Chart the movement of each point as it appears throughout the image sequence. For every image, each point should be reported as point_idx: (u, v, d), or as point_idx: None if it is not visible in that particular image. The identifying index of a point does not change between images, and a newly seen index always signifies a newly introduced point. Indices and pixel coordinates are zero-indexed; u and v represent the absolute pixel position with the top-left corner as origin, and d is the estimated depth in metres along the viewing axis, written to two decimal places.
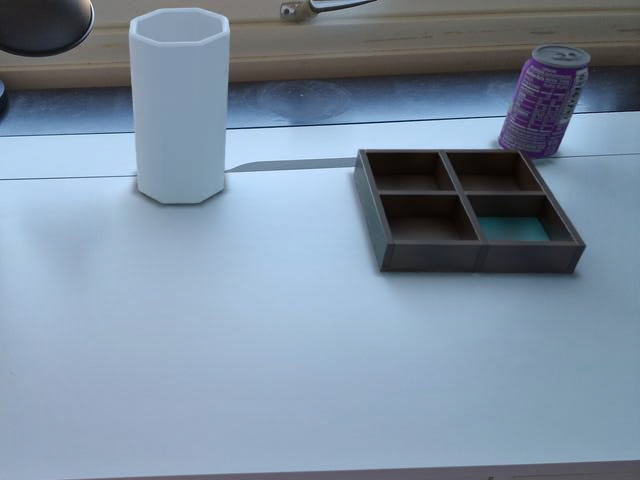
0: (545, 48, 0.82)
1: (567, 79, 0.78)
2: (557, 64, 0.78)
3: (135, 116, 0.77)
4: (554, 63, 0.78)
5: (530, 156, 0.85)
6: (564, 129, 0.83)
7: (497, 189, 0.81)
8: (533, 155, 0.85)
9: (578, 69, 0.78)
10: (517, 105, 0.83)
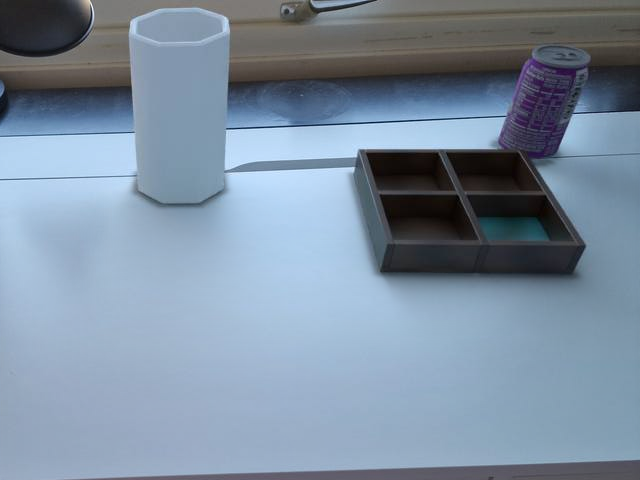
0: (545, 48, 0.82)
1: (567, 79, 0.78)
2: (557, 63, 0.78)
3: (135, 116, 0.77)
4: (554, 63, 0.78)
5: (530, 156, 0.85)
6: (564, 129, 0.83)
7: (497, 189, 0.81)
8: (533, 155, 0.85)
9: (578, 69, 0.78)
10: (517, 105, 0.83)
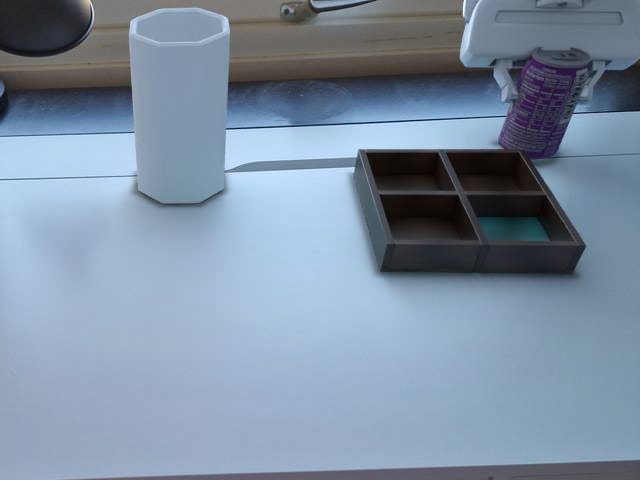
0: None
1: (567, 80, 0.78)
2: (557, 64, 0.78)
3: (135, 116, 0.77)
4: (554, 63, 0.78)
5: (530, 156, 0.85)
6: (564, 129, 0.83)
7: (497, 189, 0.81)
8: (533, 155, 0.85)
9: (578, 69, 0.78)
10: (517, 105, 0.83)
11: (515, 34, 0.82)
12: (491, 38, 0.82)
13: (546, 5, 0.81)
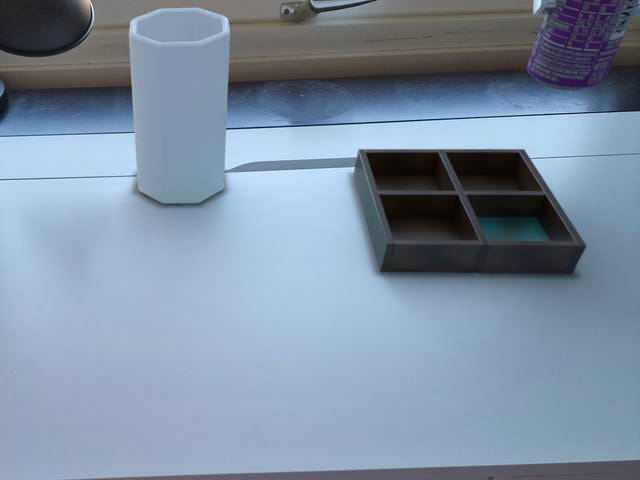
0: None
1: None
2: None
3: (135, 116, 0.77)
4: None
5: (570, 85, 0.65)
6: (615, 48, 0.64)
7: (497, 189, 0.81)
8: (574, 84, 0.65)
9: None
10: (555, 16, 0.63)
11: None
12: None
13: None
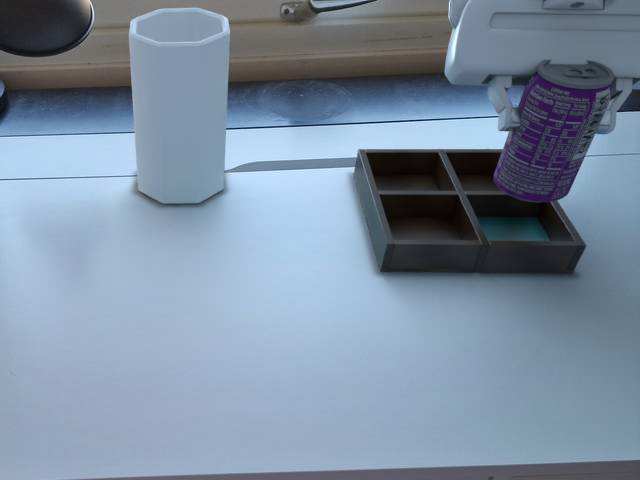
0: None
1: (584, 104, 0.60)
2: (571, 83, 0.59)
3: (135, 116, 0.77)
4: (567, 82, 0.59)
5: (534, 199, 0.66)
6: (578, 166, 0.65)
7: (497, 189, 0.81)
8: (538, 198, 0.66)
9: (598, 90, 0.59)
10: (518, 135, 0.64)
11: (516, 44, 0.63)
12: (484, 48, 0.63)
13: (556, 6, 0.62)
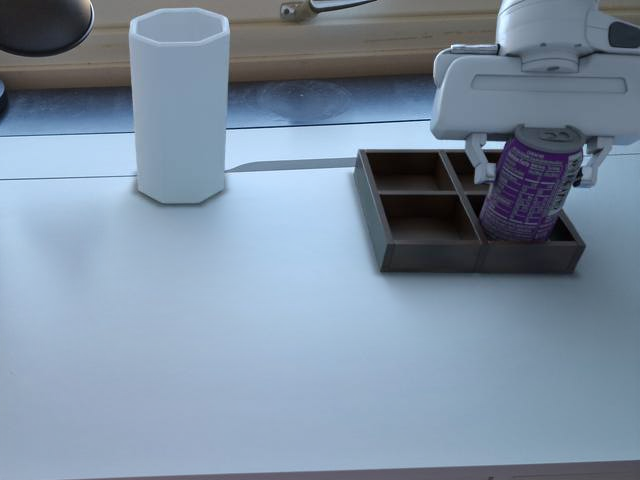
0: None
1: (557, 166, 0.64)
2: (545, 147, 0.63)
3: (135, 116, 0.77)
4: (541, 147, 0.64)
5: None
6: (554, 220, 0.69)
7: None
8: None
9: (570, 154, 0.64)
10: (498, 191, 0.69)
11: (496, 104, 0.67)
12: (466, 108, 0.67)
13: (534, 69, 0.66)
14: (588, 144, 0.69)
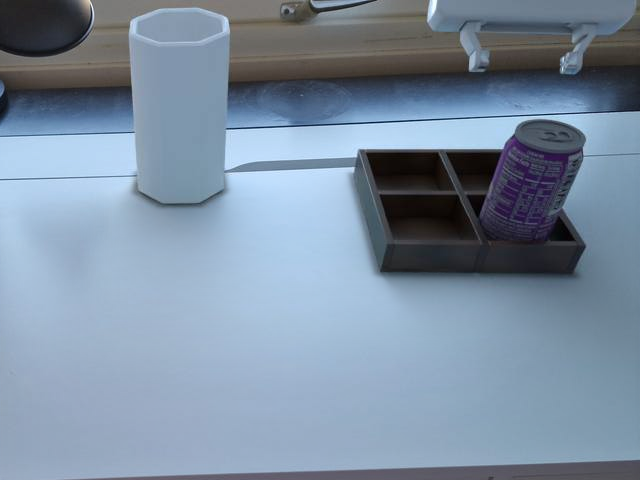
0: (531, 124, 0.67)
1: (558, 166, 0.64)
2: (545, 147, 0.63)
3: (135, 116, 0.77)
4: (541, 147, 0.64)
5: None
6: (554, 220, 0.69)
7: None
8: None
9: (570, 154, 0.64)
10: (498, 191, 0.69)
11: None
12: None
13: None
14: (574, 33, 0.73)
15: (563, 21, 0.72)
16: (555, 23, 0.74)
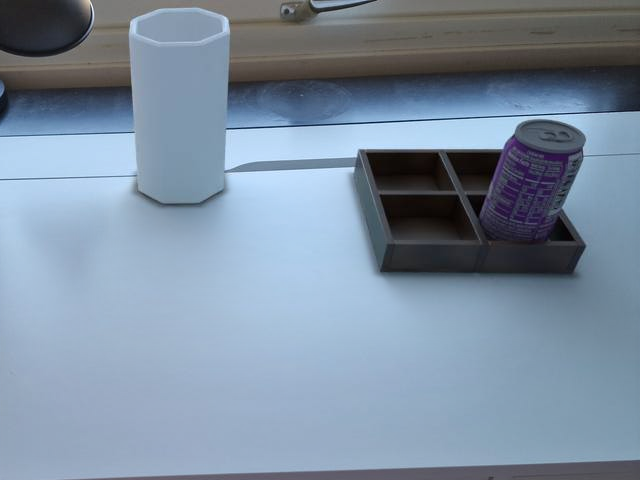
0: (531, 124, 0.67)
1: (558, 166, 0.64)
2: (545, 147, 0.63)
3: (135, 116, 0.77)
4: (541, 147, 0.64)
5: None
6: (554, 220, 0.69)
7: None
8: None
9: (570, 154, 0.64)
10: (498, 191, 0.69)
11: None
12: None
13: None
14: None
15: None
16: None
